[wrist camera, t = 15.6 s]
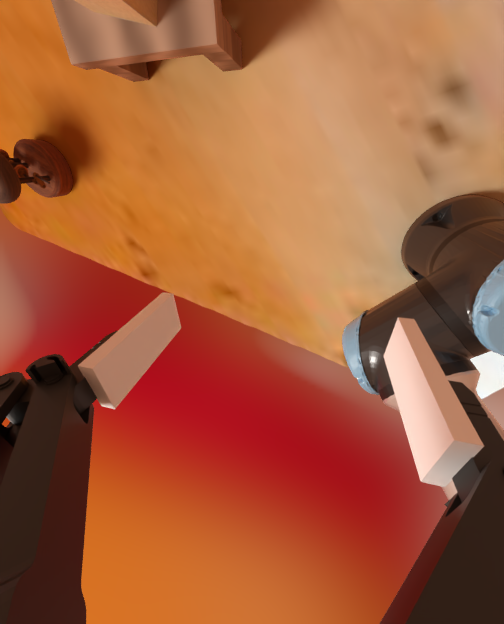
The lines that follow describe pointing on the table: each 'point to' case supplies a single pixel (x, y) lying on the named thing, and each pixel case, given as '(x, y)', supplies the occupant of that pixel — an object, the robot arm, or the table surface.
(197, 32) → the stool
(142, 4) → the sandwich container
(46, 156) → the small figurine
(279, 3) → the table surface
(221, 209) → the table surface
